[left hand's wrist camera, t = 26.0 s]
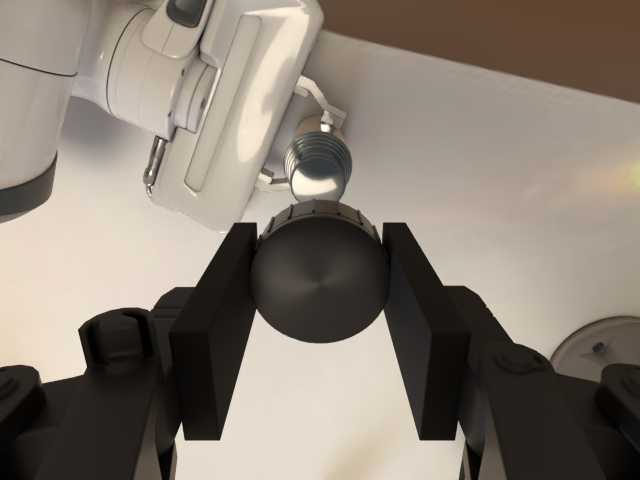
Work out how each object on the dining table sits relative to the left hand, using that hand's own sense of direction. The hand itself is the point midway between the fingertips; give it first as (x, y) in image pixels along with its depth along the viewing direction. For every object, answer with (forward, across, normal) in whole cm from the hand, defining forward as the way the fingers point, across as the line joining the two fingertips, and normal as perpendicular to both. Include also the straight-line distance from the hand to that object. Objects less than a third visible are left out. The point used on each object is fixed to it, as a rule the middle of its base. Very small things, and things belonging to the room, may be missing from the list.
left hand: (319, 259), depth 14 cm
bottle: (+29, 0, 0) cm, 29 cm away
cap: (-2, 0, 0) cm, 2 cm away
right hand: (+22, -1, 0) cm, 22 cm away
